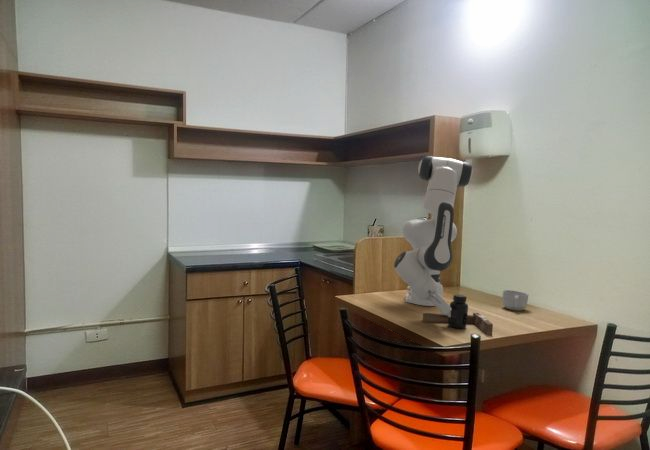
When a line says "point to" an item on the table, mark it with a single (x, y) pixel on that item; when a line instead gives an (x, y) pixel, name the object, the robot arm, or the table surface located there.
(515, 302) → the teacup
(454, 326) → the supplement bottle
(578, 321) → the table surface
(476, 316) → the rack
